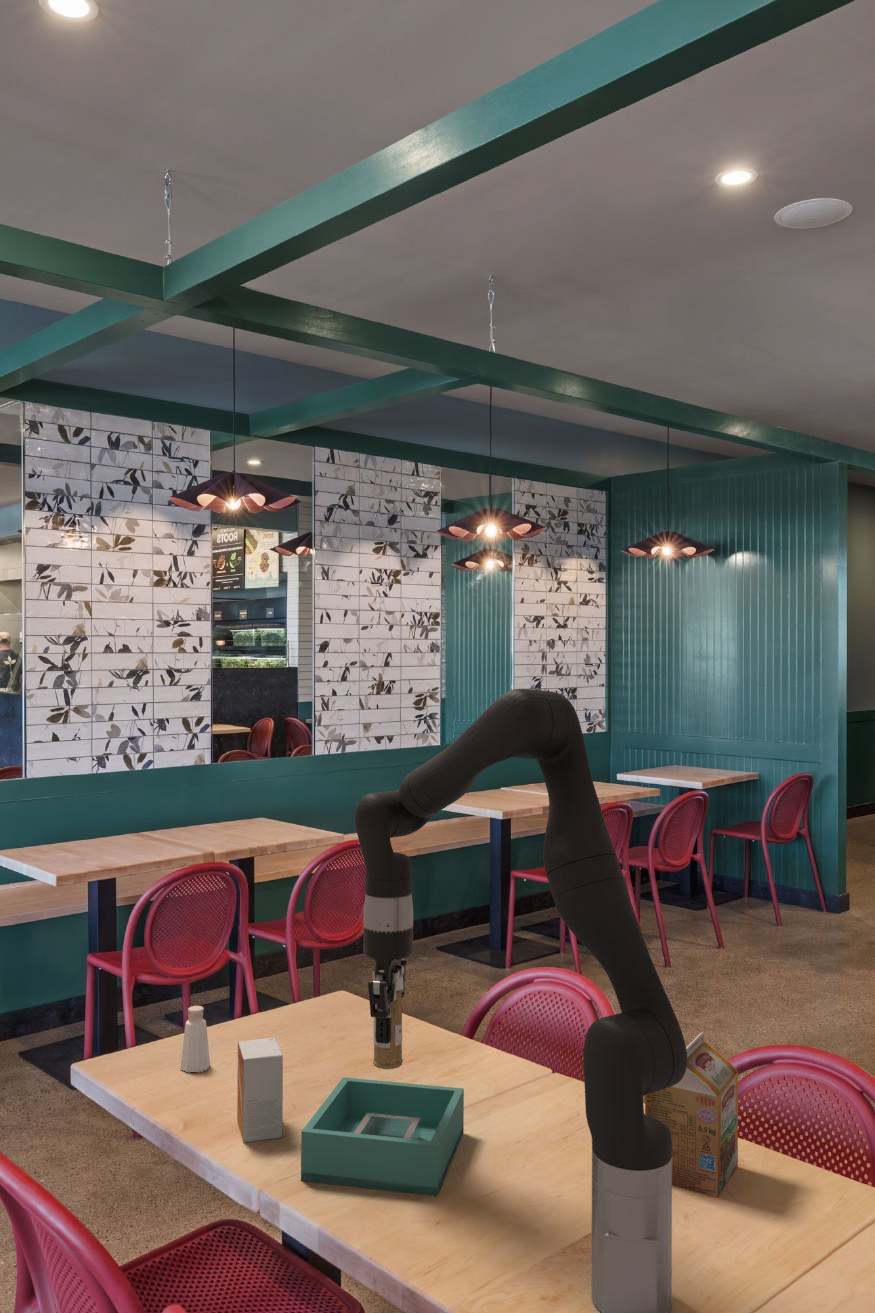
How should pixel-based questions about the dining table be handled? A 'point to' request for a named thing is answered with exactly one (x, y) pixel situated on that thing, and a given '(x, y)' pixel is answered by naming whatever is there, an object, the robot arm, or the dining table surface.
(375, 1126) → the socket collar
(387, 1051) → the sprinkles bottle
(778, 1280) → the dining table surface
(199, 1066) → the salt shaker
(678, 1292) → the dining table surface
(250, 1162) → the dining table surface
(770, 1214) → the dining table surface
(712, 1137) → the milk carton
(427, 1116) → the walled box
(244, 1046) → the small box
